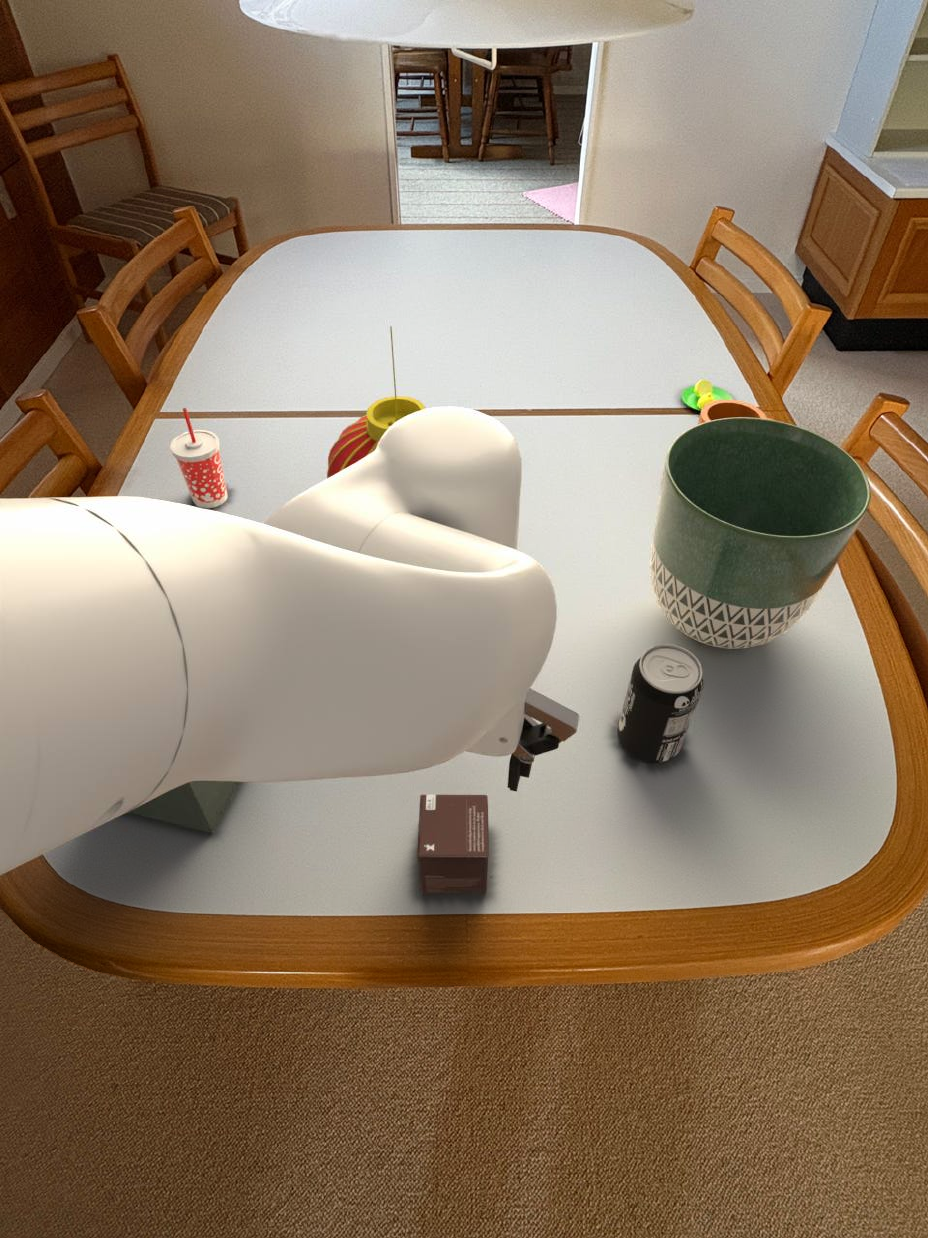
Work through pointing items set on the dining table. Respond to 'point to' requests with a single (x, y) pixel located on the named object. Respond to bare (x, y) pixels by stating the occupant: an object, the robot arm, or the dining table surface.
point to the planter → (750, 527)
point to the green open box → (191, 804)
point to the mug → (729, 410)
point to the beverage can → (660, 703)
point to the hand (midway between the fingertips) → (454, 760)
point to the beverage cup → (200, 465)
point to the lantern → (369, 429)
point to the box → (453, 843)
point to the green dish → (703, 394)
